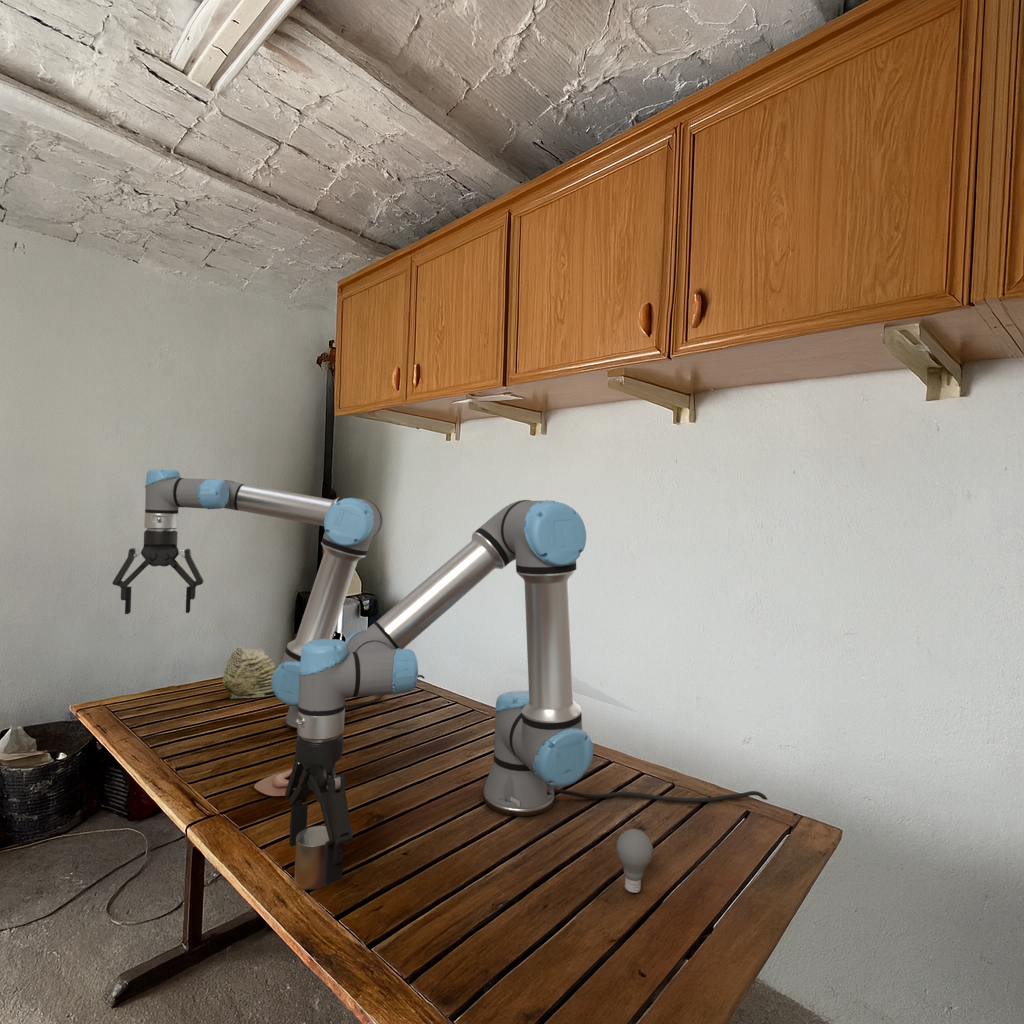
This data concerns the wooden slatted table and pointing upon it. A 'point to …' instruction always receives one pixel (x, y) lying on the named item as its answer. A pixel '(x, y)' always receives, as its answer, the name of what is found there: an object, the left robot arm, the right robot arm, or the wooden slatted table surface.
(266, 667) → the fossil
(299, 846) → the can
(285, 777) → the anatomical model
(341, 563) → the left robot arm
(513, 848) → the wooden slatted table surface
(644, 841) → the light bulb
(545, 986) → the wooden slatted table surface
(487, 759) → the wooden slatted table surface
